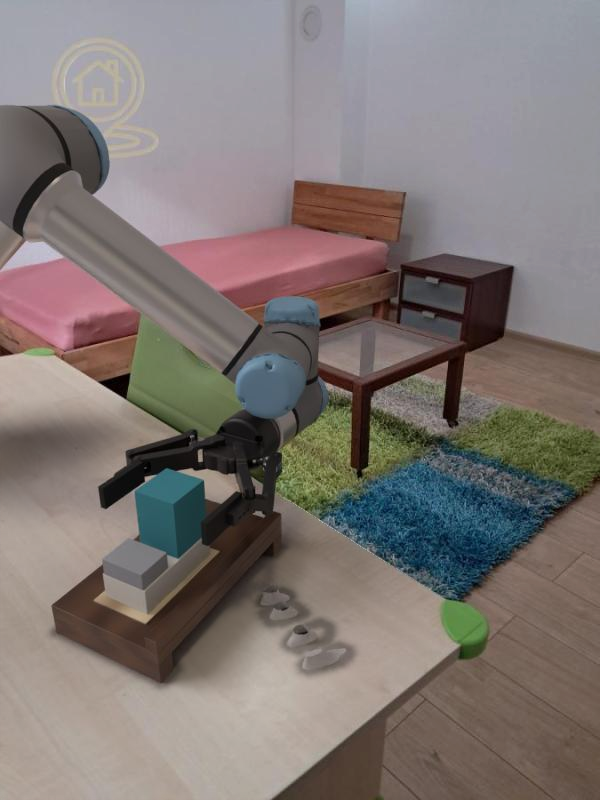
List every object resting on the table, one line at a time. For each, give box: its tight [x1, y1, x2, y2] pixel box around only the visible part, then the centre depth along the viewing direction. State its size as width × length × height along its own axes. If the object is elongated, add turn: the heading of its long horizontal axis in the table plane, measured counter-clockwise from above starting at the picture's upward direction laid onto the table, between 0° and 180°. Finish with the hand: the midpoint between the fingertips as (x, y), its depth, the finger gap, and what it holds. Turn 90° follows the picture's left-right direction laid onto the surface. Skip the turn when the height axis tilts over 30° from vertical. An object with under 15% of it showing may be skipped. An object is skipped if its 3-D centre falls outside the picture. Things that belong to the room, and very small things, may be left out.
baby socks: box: [260, 584, 347, 672], centre depth 68 cm, size 12×5×3 cm, turn 29°
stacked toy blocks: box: [101, 468, 210, 614], centre depth 68 cm, size 11×6×10 cm, turn 152°
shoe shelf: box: [50, 498, 282, 684], centre depth 73 cm, size 14×24×6 cm, turn 152°
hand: (150, 515), depth 66 cm, fingers open, 13 cm apart
